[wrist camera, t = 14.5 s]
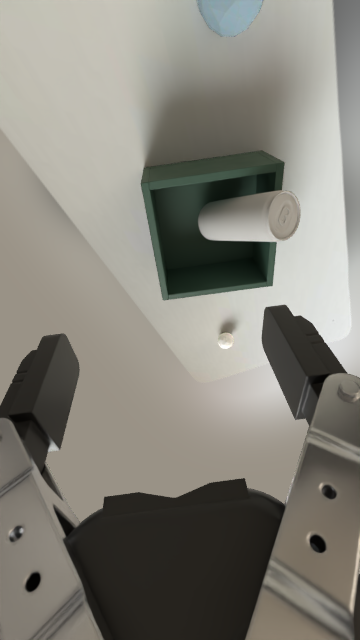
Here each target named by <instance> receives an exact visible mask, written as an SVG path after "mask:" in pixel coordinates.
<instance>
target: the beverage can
mask: <svg viewBox="0 0 360 640" xmlns="http://www.w3.org/2000/svg"><path fill="white" fill-rule="evenodd" d="M299 221H300V205H299V202H298V199H297V197H296V196H295V195H294V194H293V193H292V192H290V191H282V190H278V191H272V192H266V193H260V194H254V195H248V196H242V197H236V198H230V199H224V200H219V201H213V202H210V203H208V204H206V205H205V206H204V207H203V208H202V209H201V211H200V213H199V217H198V225H199V229H200V232H201V233H202V235H203V236H204V237H205V238H207V239H209V240H218V241H260V242H279V241H284V240H287V239H289V238H290V237H291V236H292V235H293V234H294V233H295V231H296V229H297V228H298V225H299Z"/></svg>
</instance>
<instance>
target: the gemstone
mask: <svg viewBox="0 0 360 640" xmlns="http://www.w3.org/2000/svg"><path fill="white" fill-rule="evenodd" d="M197 3H198V7H199V10H200V13H201V15H202V16H203V18H204V20H205V21H206V23H207V25H208V26H209V28H210V29H212V30H213V31H215V32H216V33H217V34H219V35H220V36H228V37H235V36H236V35H238V34H240V33H241V32H243V31H244V30H246V29H248V27H249V26H250V25H251V23H252V22H253V20H254V19H255V17H256V16H257V14H258V13H259V11H260V9H261V6H262V3H263V0H197Z"/></svg>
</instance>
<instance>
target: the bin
mask: <svg viewBox="0 0 360 640" xmlns="http://www.w3.org/2000/svg"><path fill="white" fill-rule="evenodd" d="M283 172H284V162H283V161H281V160H279V159H277V158H275V157H273V156H271V155H269V154H268V153H266V152H264V151H256V152H249V153H242V154H235V155H229V156H222V157H215V158H208V159H201V160H194V161H188V162H181V163H174V164H167V165H160V166H153V167H146V168H144V170H143V175H142V180H141V187H142V192H143V198H144V203H145V208H146V213H147V219H148V224H149V229H150V235H151V240H152V245H153V250H154V256H155V261H156V266H157V271H158V277H159V282H160V287H161V292H162V298H163V300H169V299H177V298H185V297H192V296H200V295H207V294H215V293H222V292H230V291H237V290H245V289H252V288H260V287H266V286H267V287H268V286H272V285H273V275H274V265H275V254H276V244H277V242H260V241H218V240H209V239H207V238H205V237H204V236H203V235H202V233H201V232H200V229H199V225H198V217H199V213H200V211H201V209H202V208H203V207H204V206H205V205H206V204H208V203H210V202H213V201H219V200H224V199H230V198H236V197H242V196H248V195H254V194H260V193H266V192H272V191H278V190H282V182H283Z"/></svg>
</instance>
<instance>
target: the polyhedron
mask: <svg viewBox="0 0 360 640" xmlns="http://www.w3.org/2000/svg"><path fill="white" fill-rule="evenodd" d="M218 343H219V345H220V346H221V347H222V348H226V349H227V348H230V347H231V346H232V345H233V344H234V338H233V336H232V335H231V334H230V333H222V334H220V336H219V337H218Z"/></svg>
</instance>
